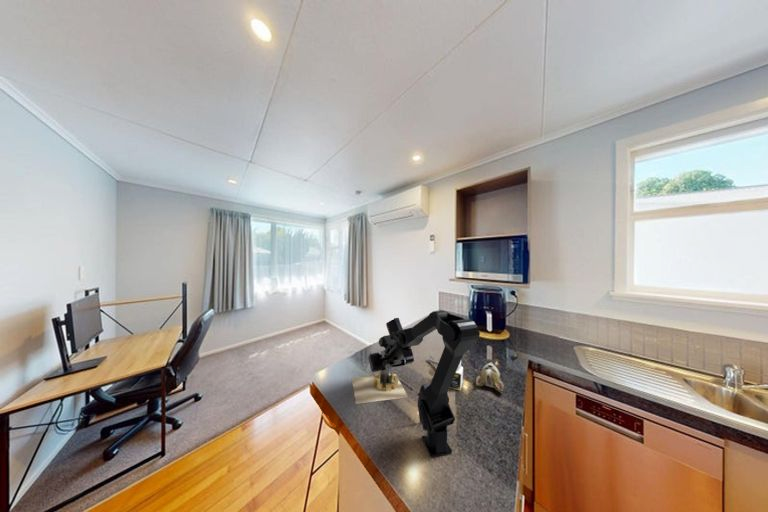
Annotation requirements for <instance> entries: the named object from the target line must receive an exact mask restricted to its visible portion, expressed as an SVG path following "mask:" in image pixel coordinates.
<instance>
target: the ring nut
mask: <svg viewBox="0 0 768 512" xmlns="http://www.w3.org/2000/svg"><path fill="white" fill-rule="evenodd" d="M394 374H395V373H393V372H392V381H393V380H394V381H393V382H392V389H396V388H397V384H398V379H399V377H398V376H397V375H396V376H394ZM373 376H374V381H373V384H374V387H377V389H378V390H380V391H382V390H383V383H382V382H379V377H380V373H376V374H375V375H373ZM385 390H386V391H391V383H385Z"/></svg>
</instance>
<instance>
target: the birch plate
mask: <svg viewBox="0 0 768 512" xmlns="http://www.w3.org/2000/svg"><path fill="white" fill-rule="evenodd" d="M393 374H394V376H397V374H396V373H393ZM373 381H374V375H371V376H370V375H369V376H361V377H352V378H351V382H352V387H353V389H352V390H353V394H354V395H353V396H354V401H355V404H356V405H357V404H364V403H365V404H366V403H372V402H373V403H374V402H379V401H380V402H383V401H387V400H388V401H389V400H397V399H404V398H409V396H408V394H407V391H406V390H405V389H404V386H403V385H402V383H401V381H400V379H399V378H398V384H397V388H396V389H392V383H391V391H386V390H385V385H383V390H382V391H380V390H378V389H377V387H374V384H373ZM393 381H394V380H393ZM393 381H392V382H393ZM379 382H380V377H379Z"/></svg>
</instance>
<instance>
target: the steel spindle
mask: <svg viewBox="0 0 768 512" xmlns="http://www.w3.org/2000/svg"><path fill="white" fill-rule="evenodd" d="M384 350H385V349H384ZM384 350H381V351H380V354H381V355H382V358H386V357H384V355H386V354H385V352H384ZM386 362H387V361H386ZM385 368H386V370H382V371H379V374H380V382H382V383H383V385H385V383H392V373H393V367H392V366H390V365H389V364H386V366H385Z"/></svg>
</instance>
